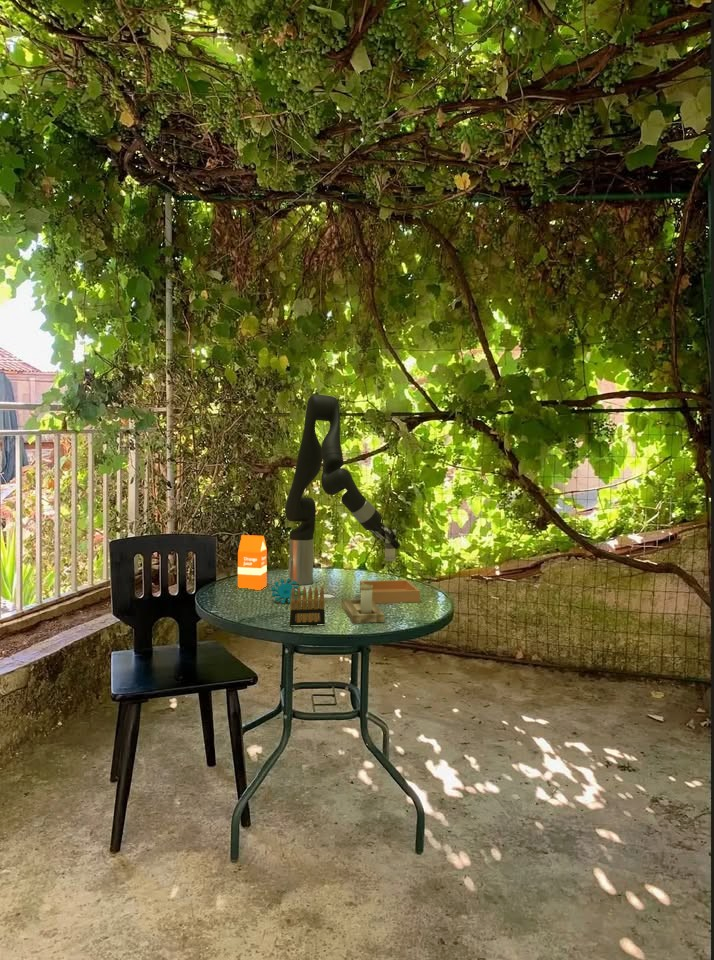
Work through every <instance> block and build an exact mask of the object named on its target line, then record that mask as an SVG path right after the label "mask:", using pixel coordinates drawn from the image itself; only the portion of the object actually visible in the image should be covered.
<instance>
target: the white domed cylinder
mask: <svg viewBox="0 0 714 960" xmlns="http://www.w3.org/2000/svg"><path fill="white" fill-rule="evenodd" d="M391 529H392V531H393V532H394V534H395V535H396V534H397V529H395V528H394V529H393V528H391ZM384 561H385V562H395V561H396V549H395V548H394V547H393V546H392V545H391V544H390V543H389V542H388V541H387V540H386V539H385V542H384Z"/></svg>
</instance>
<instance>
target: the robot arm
mask: <svg viewBox="0 0 714 960" xmlns="http://www.w3.org/2000/svg"><path fill="white" fill-rule="evenodd" d="M340 412H341V411H340V403H339V400H338V398H337V397H336V396H332V395H327V394H326V395H324V394H311V395H310V396H309V397H308V401H307V404H306V410H305V415H304V416H305V417H304V418H305V419H304V425H303V432H302V438H301V441H300V446H299V450H298V455H297V460H296V465H295V469H294V474H293V480H292V483H291V486H290V490H289V493H288V497H287V500H286V504H285V512H284V513H285V517H286V520H287V521H289V522H291V523H292V522H293V523H296V522H299V523H301V524H299V525H298V526H297V527H296V528H294V529H292V530H290V532H289V547H288V548H289V557H288V578H289V579H291V582H289V583H288V584H291V583H292V582H293V581H296V583H297V584H299V586H300V585H301V586H302V585H305V586H306V585H311V584H313V583H314V534H315V528H316V511H317V510H316V508H317V507H316V502H315V501H314V499H313V498H312V497H308V496H306V497H303V494H304V492H305V490H306V489H307V488H308V487H309V485H310V484H311V483H312V482H313V481H314V479H315V478H316V477H317V476H318V474H319V472H320V470H321V468H322V472H321V477H320V478H321V479H320V480H321V487H322V489H323V491H324V492H325V494H327V495H329V496H334V495H337V494H339V493H340V492H342V491H344V490H346V492H344V494H343V495H342V497H341V503H342V504H343V506H345V508H346V509H347V510H348V511H349V512H350V513H351V514H352V516H353V517H354V518H355V520H356V521H357V522H358V523H359V524H360V525H361V526H362V527H363V529H364V530H366V531H369V532H370V533H371V534H373V536H375V538H377V539H379V540H381V541H382V542H384V543H385V539H386V540H387V541H388V542H389V543H390V544H391V545H392V546H393V547H394V548H395V550H398V549H399V548H400V546H401V544H400V543H399V542H398V540H397V535H396V534H394V532H393V531H392V529H393V528H391V527H390V526H389V527H387V525H385V523H382V519H383V516H382V514H381V513H380V512H379V511H378V510H377V508H376V507H375V506H374V505H373V504H372V503H371V502H370V501H369V500H368V499H367V498H366V497H365V496H364V495H363V494H362V493H361V492H360V490H359V489H358V486H357V485H356V483H355V481H354V478H353V476H352V474H351V473H350V471H349V470H348V469H346V468H342V467H343V465H344V456H343V455H344V454H343V451H342V445H341V444H342V443H341V416H340V414H341V413H340ZM317 421H322V422H323V421H324V422H329V430H328V431H327V433H326V435H325V437H324V439H323V440H322V443H320V440H319V439H318V436H317V432H316V423H317ZM322 463H323V464H322Z"/></svg>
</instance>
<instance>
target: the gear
mask: <svg viewBox="0 0 714 960" xmlns="http://www.w3.org/2000/svg"><path fill="white" fill-rule="evenodd" d="M279 581H280V583H281V584H279V582H278V581H276V582H274V586H272V588H271V591H272V593H271V594H272V595H271V597H272V598H274V599H275V602H277V603H278V602H279V601H280V600H281V601H280V603H281V605H284V604H285V603H286V601H287V604H288V605H290V600H291V591H292V587H294V590H295V600H296V599H297V590H298V587H300V585H296V584H297V583H296V581H293V582H292V583H291V584H290V583H289V582H291V579H289V577H288V578H287V579H286V582H285V578H281V579H280V580H279ZM284 582H285V583H284ZM276 587H277V589H276ZM300 588H301V587H300ZM300 591H301V596H303V590H300ZM286 599H288V600H286Z"/></svg>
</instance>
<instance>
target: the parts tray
mask: <svg viewBox="0 0 714 960" xmlns="http://www.w3.org/2000/svg"><path fill="white" fill-rule="evenodd" d="M361 584H372V585H373V589H372V600H373V601H374V603H375V604H376V605H377V604H400V603H399V602H411V603H421V590H420V589H419V588H418V587H416V585H414V584H413V583H412V582H410V581H409V580H408V579H399V580H398V579H397V580H395V579H393V580H391V579H390V580H388V579H387V580H360V581H359V586H360V585H361ZM359 593H360V594H361V589H360V588H359Z"/></svg>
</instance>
